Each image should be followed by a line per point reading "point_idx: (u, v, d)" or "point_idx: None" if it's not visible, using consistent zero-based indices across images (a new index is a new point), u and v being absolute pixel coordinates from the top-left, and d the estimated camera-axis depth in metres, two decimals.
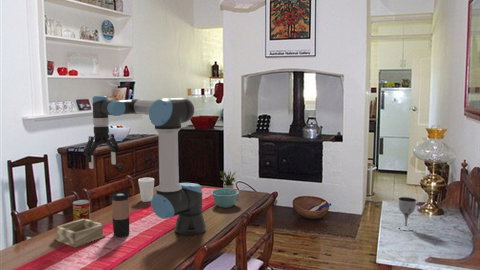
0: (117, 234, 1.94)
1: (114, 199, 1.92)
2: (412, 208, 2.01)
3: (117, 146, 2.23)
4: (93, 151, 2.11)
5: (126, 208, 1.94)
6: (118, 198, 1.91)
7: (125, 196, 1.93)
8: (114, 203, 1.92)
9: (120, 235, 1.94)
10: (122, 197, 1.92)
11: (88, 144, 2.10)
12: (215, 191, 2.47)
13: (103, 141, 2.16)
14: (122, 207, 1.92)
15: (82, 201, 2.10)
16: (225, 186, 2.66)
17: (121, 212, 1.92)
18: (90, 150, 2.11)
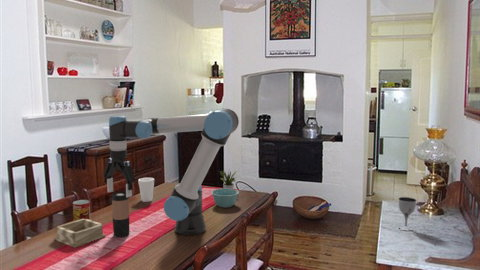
0: (117, 234, 1.94)
1: (114, 199, 1.92)
2: (412, 208, 2.01)
3: (129, 177, 1.88)
4: (108, 174, 1.96)
5: (126, 208, 1.94)
6: (118, 198, 1.91)
7: (125, 196, 1.93)
8: (114, 203, 1.92)
9: (120, 235, 1.94)
10: (122, 197, 1.92)
11: None
12: (215, 191, 2.47)
13: (117, 167, 1.92)
14: (122, 207, 1.92)
15: (82, 201, 2.10)
16: (225, 186, 2.66)
17: (121, 212, 1.92)
18: None
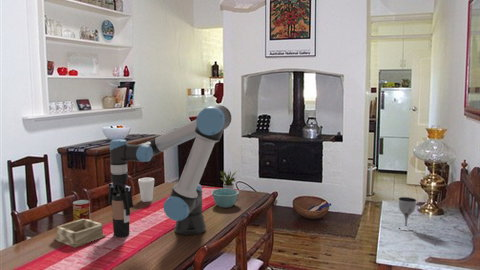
0: (117, 234, 1.94)
1: (114, 199, 1.92)
2: (412, 208, 2.01)
3: (127, 203, 1.90)
4: None
5: None
6: (118, 198, 1.91)
7: (125, 196, 1.93)
8: (114, 203, 1.92)
9: (120, 235, 1.94)
10: (122, 197, 1.92)
11: None
12: (215, 191, 2.47)
13: (118, 190, 1.93)
14: (122, 207, 1.92)
15: (82, 201, 2.10)
16: (225, 186, 2.66)
17: (121, 212, 1.92)
18: None
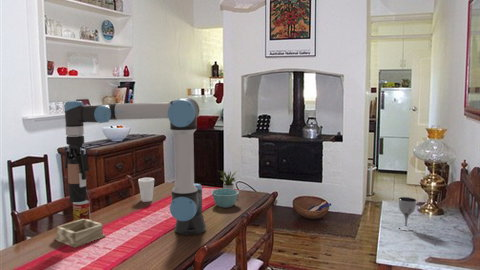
0: (73, 199, 1.87)
1: (69, 162, 1.85)
2: (412, 208, 2.01)
3: (82, 166, 1.84)
4: None
5: None
6: (73, 161, 1.85)
7: None
8: (69, 166, 1.85)
9: (76, 200, 1.87)
10: (77, 160, 1.85)
11: None
12: (215, 191, 2.47)
13: (74, 153, 1.87)
14: (78, 170, 1.86)
15: None
16: (225, 186, 2.66)
17: (76, 175, 1.86)
18: None
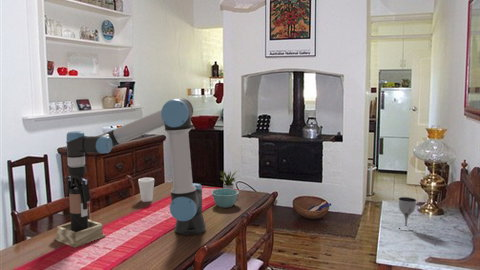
0: (74, 228, 1.89)
1: (71, 192, 1.87)
2: (412, 208, 2.01)
3: (84, 197, 1.85)
4: None
5: None
6: (75, 191, 1.86)
7: (82, 189, 1.88)
8: (71, 196, 1.87)
9: (77, 229, 1.89)
10: (79, 190, 1.87)
11: None
12: (215, 191, 2.47)
13: (75, 183, 1.89)
14: (79, 200, 1.87)
15: None
16: (225, 186, 2.66)
17: (78, 205, 1.87)
18: None
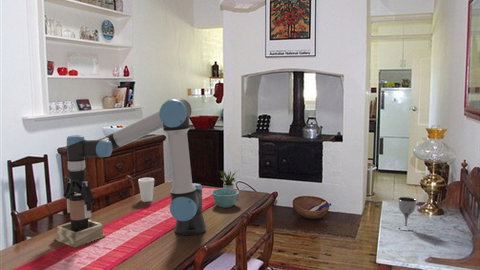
0: None
1: (71, 199, 1.87)
2: (412, 208, 2.01)
3: (87, 198, 1.84)
4: (68, 194, 1.93)
5: None
6: (75, 198, 1.87)
7: None
8: (71, 203, 1.87)
9: None
10: (79, 197, 1.87)
11: None
12: (215, 191, 2.47)
13: (75, 187, 1.89)
14: (80, 207, 1.88)
15: None
16: (225, 186, 2.66)
17: (78, 212, 1.88)
18: None
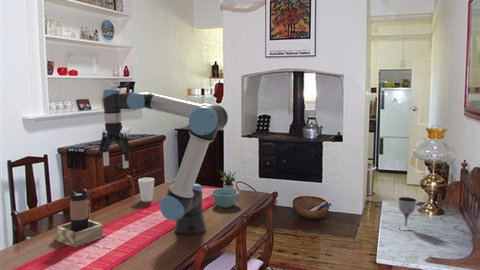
0: None
1: (71, 199, 1.87)
2: (412, 208, 2.01)
3: (125, 148, 1.91)
4: (104, 148, 1.99)
5: (84, 208, 1.89)
6: (75, 198, 1.87)
7: (83, 196, 1.88)
8: (71, 203, 1.88)
9: None
10: (80, 197, 1.87)
11: None
12: (215, 191, 2.47)
13: (112, 139, 1.95)
14: (80, 207, 1.88)
15: None
16: (225, 186, 2.66)
17: (79, 212, 1.88)
18: None
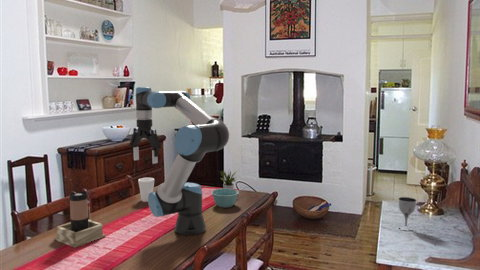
0: None
1: (71, 199, 1.87)
2: (412, 208, 2.01)
3: (155, 144, 1.99)
4: (135, 143, 2.07)
5: (84, 208, 1.89)
6: (75, 198, 1.87)
7: (83, 196, 1.88)
8: (71, 203, 1.88)
9: None
10: (80, 197, 1.87)
11: None
12: (215, 191, 2.47)
13: (143, 135, 2.03)
14: (80, 207, 1.88)
15: None
16: (225, 186, 2.66)
17: (79, 212, 1.88)
18: None
